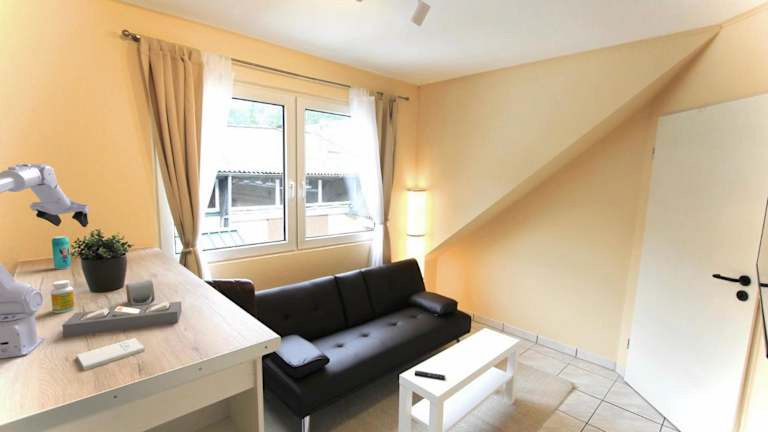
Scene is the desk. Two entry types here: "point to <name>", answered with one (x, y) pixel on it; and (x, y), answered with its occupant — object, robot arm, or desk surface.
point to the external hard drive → (109, 353)
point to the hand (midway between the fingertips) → (72, 224)
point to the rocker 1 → (96, 314)
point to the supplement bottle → (62, 297)
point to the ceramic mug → (140, 292)
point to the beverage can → (61, 252)
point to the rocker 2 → (125, 311)
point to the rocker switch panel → (121, 320)
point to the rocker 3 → (159, 307)
